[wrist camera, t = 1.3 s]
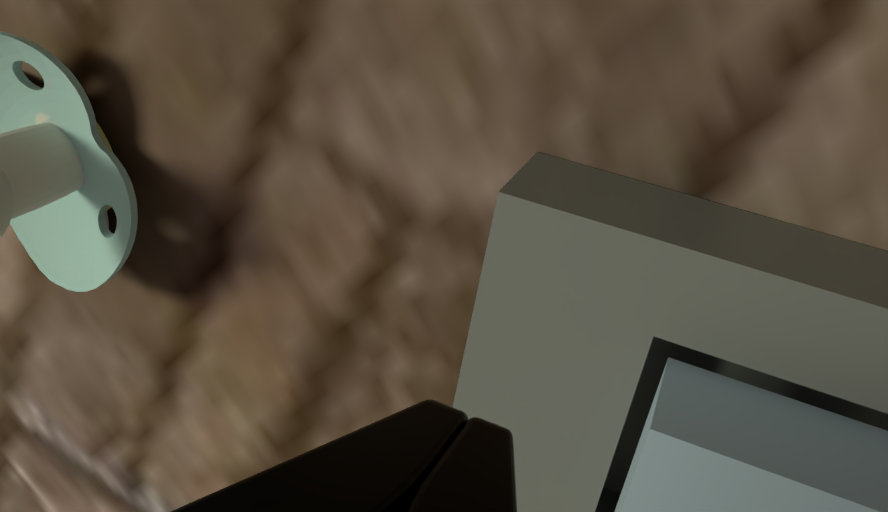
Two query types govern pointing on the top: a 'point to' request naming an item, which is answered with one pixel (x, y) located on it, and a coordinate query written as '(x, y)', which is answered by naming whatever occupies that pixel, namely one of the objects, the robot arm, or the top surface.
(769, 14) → the top surface
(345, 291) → the top surface
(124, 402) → the top surface
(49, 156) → the pacifier
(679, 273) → the keypad
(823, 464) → the slate key
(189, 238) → the top surface
